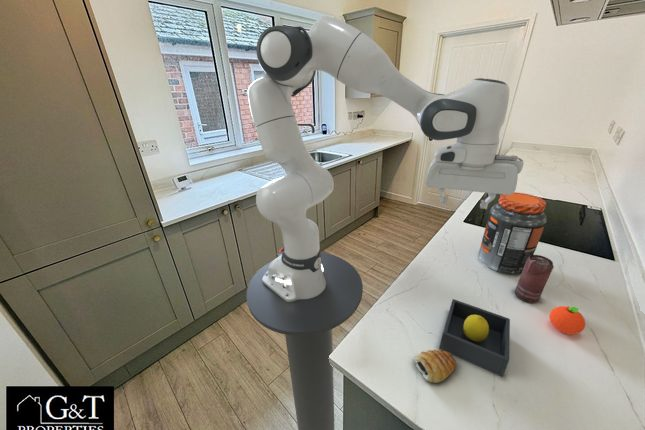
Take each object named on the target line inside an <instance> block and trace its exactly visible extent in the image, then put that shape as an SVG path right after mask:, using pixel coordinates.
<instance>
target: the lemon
mask: <svg viewBox="0 0 645 430" xmlns="http://www.w3.org/2000/svg"><path fill="white" fill-rule="evenodd" d="M463 330H464V333H465V335H466V336H467V337H468V338H469V339H470V340H472V341H475V342H481V341H483V340H485V339H486V338H487V336H488V333H489V325H488V323H487V321H486V320H485V319H484V318H483V317H482V316H479V315H470V316H468V317H467V319H466V320H465V321H464V325H463Z"/></svg>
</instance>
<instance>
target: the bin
mask: <svg viewBox="0 0 645 430" xmlns="http://www.w3.org/2000/svg"><path fill="white" fill-rule="evenodd" d="M470 315H479V316H482V317H483V318H484V319H485V320H486V321H487V323H488V325H489V333H488V336H487V338H486V339H485V340H483V341H481V342H475V341H472V340H470V339H469V338H468V337H467V336H466V335H465V333H464V330H463V325H464V321H465V320H466V319H467V317H468V316H470ZM510 329H511V319H510V318H509V317H506V316H504V315H500V314H498V313H495V312H492V311H488V310H487V309H483V308H480V307H478V306H475V305H472V304H470V303H469V304H468V303H466V302H464V301H460V300H458V299H454V298H452V300H451V304H450V307H449V310H448V313H447V317H446V321H445V325H444V327H443V331H442V335H441V339H440V343H439V348H438V350H442V351H447V352H449V353H451V354H452V355H453V356H455V357H457V358H459V359H461V360H464V361H466V362H468V363H470V364H473V365H475V366H477V367H480V368H482V369H484V370H486V371H488V372H490V373H492V374H495V375H496V376H500V377H503V375H504V373H505V370H506V369H507V368H508V367H507V366H508V364H509V362H510V337H511V336H510V335H511V334H510V332H511V330H510Z"/></svg>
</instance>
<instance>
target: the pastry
mask: <svg viewBox="0 0 645 430" xmlns="http://www.w3.org/2000/svg"><path fill="white" fill-rule="evenodd" d="M413 361H414V364H415V366H416V368H417V370H418V371H419V372H420V373H421V374H422V377H423V378H424V379H425V380H426V381H428V382H430V383H436V384H437V383H441V382H443V381H444V380H446V379H447V378H448V377H450V376H451V374H452V373H454V371H455V370H456V368H457V360H456V359H455V357H454V355H453V354H451V353H449V352H447V351H444V350H442V349H438V350H437V349H433V350H431V349H429V350H427V351H421V352H420V353H419V354H418V355H417V356H414V358H413Z"/></svg>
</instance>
